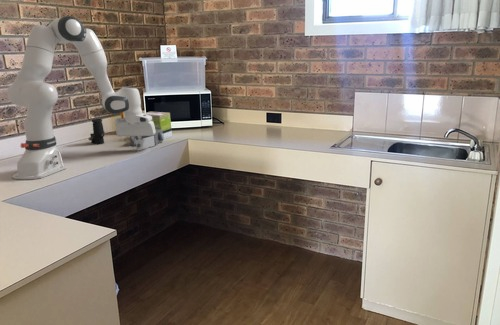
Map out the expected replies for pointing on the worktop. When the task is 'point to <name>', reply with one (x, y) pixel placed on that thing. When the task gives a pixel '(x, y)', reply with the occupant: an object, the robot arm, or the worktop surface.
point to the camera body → (158, 136)
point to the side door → (145, 143)
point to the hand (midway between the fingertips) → (137, 144)
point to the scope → (97, 132)
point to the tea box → (162, 122)
